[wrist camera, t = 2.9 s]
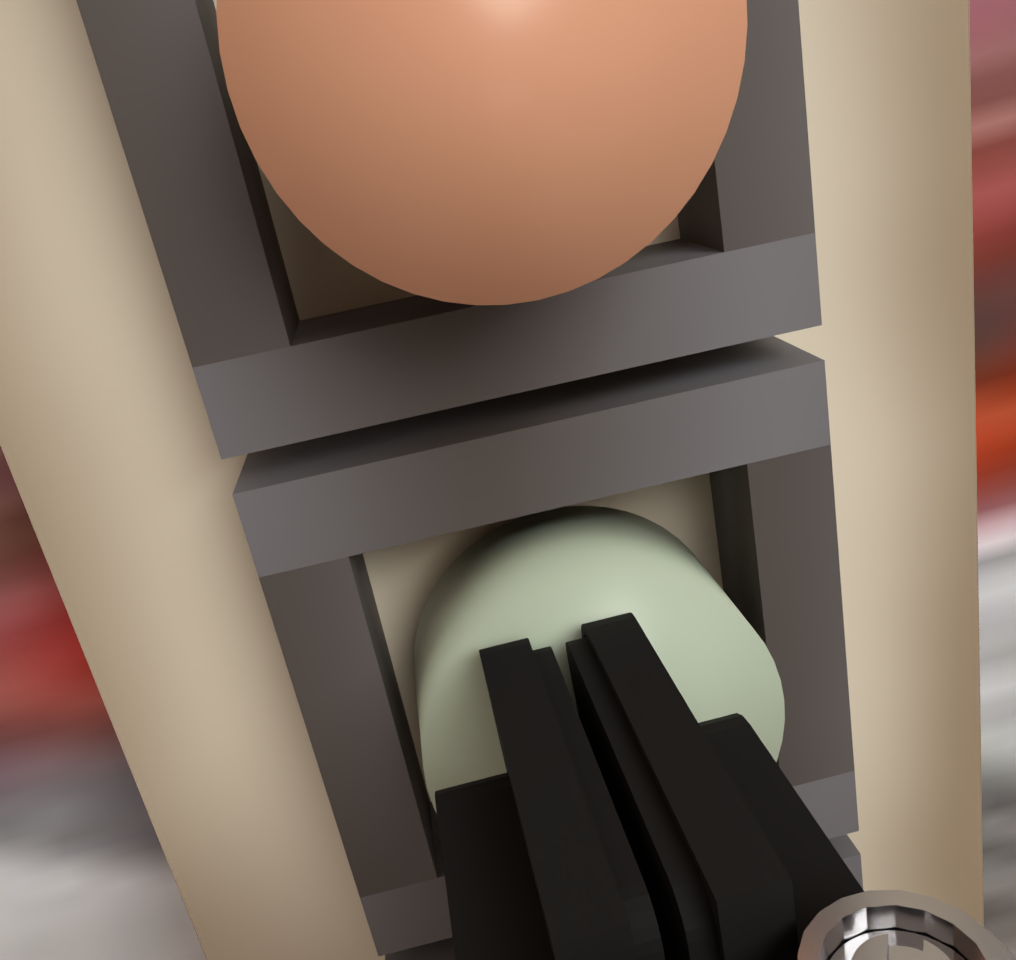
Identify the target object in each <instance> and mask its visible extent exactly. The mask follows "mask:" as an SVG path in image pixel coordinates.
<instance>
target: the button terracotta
mask: <svg viewBox="0 0 1016 960" xmlns="http://www.w3.org/2000/svg"><path fill="white" fill-rule="evenodd" d="M216 15H217V27H218V38H219V50H220V56H221V61H222V66H223V70H224V75H225V80H226V85H227V90H228V93H229V96H230V99H231V102H232V105H233V108H234V111H235V114H236V117H237V120H238V123H239V125H240V128H241V130H242V132H243V134H244V136H245V139H246V141H247V143H248V145H249V147H250V149H251V151H252V153H253V155H254V157H255V159H256V161H257V163H258V165H259V166H260V168H261V169H262V171H263V172H264V174H265V176H266V177H267V179H268V180H269V182H270V183H271V185H272V187H273V188H274V190H275V191H276V193H277V194H278V195H279V196H280V198H281V199H282V200H283V201H284V203H285V204H286V205H287V206H288V207H289V209H290V210H291V211H292V212H293V213H294V215H295V216H296V217H297V218H298V220H299V221H300V222H301V223H302V224H303V225H305V226H306V227H307V228H308V229H309V230H310V231H311V232H312V233H313V234H314V235H315V236H316V237H317V238H318V239H319V240H320V241H321V242H322V243H324V244H325V245H326V246H327V247H329V248H330V249H331V250H333V251H334V252H335V253H337V254H338V255H339V256H341V257H342V258H344V259H345V260H346V261H348V262H349V263H350V264H352V265H353V266H355V267H357V268H359V269H360V270H362V271H364V272H366V273H368V274H369V275H371V276H373V277H375V278H377V279H378V280H380V281H382V282H384V283H387V284H389V285H392V286H395V287H397V288H400V289H402V290H405V291H407V292H410V293H412V294H416V295H420V296H424V297H428V298H432V299H436V300H440V301H443V302H451V303H460V304H469V305H510V304H516V303H523V302H530V301H536V300H541V299H544V298H548V297H551V296H555V295H558V294H562V293H565V292H569V291H571V290H573V289H576V288H578V287H580V286H583V285H585V284H587V283H589V282H592V281H594V280H596V279H598V278H600V277H602V276H603V275H605V274H607V273H608V272H610V271H612V270H614V269H615V268H617V267H619V266H620V265H622V264H624V263H625V262H627V261H628V260H629V259H630V258H632V257H633V256H634V255H635V254H637V253H638V252H639V251H641V250H642V249H643V248H644V247H646V246H647V245H648V244H650V243H651V242H652V241H653V240H654V239H655V238H656V237H657V236H658V235H659V234H660V233H661V232H662V231H663V230H664V229H665V228H666V227H667V226H668V225H669V224H670V223H671V222H672V221H673V220H674V219H675V217H676V216H677V215H678V213H679V212H680V211H681V210H682V208H683V207H684V206H685V204H686V203H687V202H688V201H689V199H690V198H691V197H692V195H693V194H694V193H695V191H696V190H697V188H698V186H699V185H700V183H701V181H702V180H703V178H704V176H705V175H706V173H707V171H708V170H709V168H710V166H711V165H712V163H713V161H714V158H715V156H716V154H717V152H718V150H719V147H720V145H721V143H722V141H723V139H724V136H725V134H726V132H727V129H728V126H729V123H730V120H731V116H732V113H733V110H734V107H735V104H736V101H737V98H738V93H739V88H740V83H741V77H742V72H743V67H744V62H745V50H746V38H747V26H748V25H747V0H217V6H216Z"/></svg>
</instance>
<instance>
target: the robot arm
mask: <svg viewBox="0 0 1016 960" xmlns="http://www.w3.org/2000/svg"><path fill="white" fill-rule="evenodd" d="M581 633H582V638H581V639H577V640H573V641H569V642H566V652H567V658H568V663H569V668H570V673H571V678H572V683H573V689H574V694H575V699H576V704H577V709H578V713H577V710H576V708H575V705H574V703H573V700H572V698H571V695H570V693H569V690H568V688H567V685H566V683H565V680H564V677H563V675H562V672H561V670H560V667H559V665H558V662H557V660H556V657H555V655H554V652H553V650H552V648H551V646H548V647H544V648H540V649H536V650H533V649H532V647H531V644H530V641H529V639H528V638H524V639H520V640H516V641H512V642H508V643H504V644H500V645H496V646H492V647H488V648H484V649H480V650H479V654H480V658H481V662H482V667H483V671H484V676H485V680H486V684H487V688H488V693H489V697H490V701H491V706H492V710H493V714H494V719H495V723H496V727H497V732H498V736H499V740H500V745H501V749H502V753H503V758H504V762H505V766H506V771H507V773H503V774H499V775H495V776H491V777H487V778H484V779H480V780H476V781H472V782H468V783H464V784H460V785H457V786H453V787H449V788H445V789H441V790H437V791H435V803H436V811H437V819H438V827H439V835H440V843H441V851H442V859H443V866H444V874H445V882H446V890H447V898H448V906H449V914H450V922H451V929H452V937H453V945H454V953H455V960H1016V956H1015V955H1014V954H1013V953H1012V952H1011V951H1010V950H1009V949H1008V948H1007V947H1006V946H1004V945H1003V944H1002V943H1001V942H1000V941H999V940H998V939H997V938H996V937H995V936H994V935H993V934H992V933H991V932H990V931H989V930H988V929H986V928H985V927H984V926H982V925H981V924H980V923H978V922H977V921H976V920H974V919H973V918H972V917H970V916H969V915H968V914H966V913H965V912H964V911H962V910H960V909H958V908H956V907H953V906H951V905H949V904H947V903H944V902H942V901H940V900H938V899H935V898H933V897H931V896H926V895H921V894H916V893H911V892H907V891H902V890H871V891H865V892H864V890H863V889H862V887H861V886H860V884H859V883H858V881H857V880H856V879H855V877H854V876H853V874H852V873H851V871H850V870H849V868H848V867H847V865H846V864H845V862H844V861H843V860H842V858H841V857H840V855H839V854H838V852H837V851H836V849H835V848H834V846H833V845H832V843H831V842H830V840H829V839H828V838H827V836H826V835H825V833H824V832H823V830H822V829H821V827H820V826H819V824H818V823H817V821H816V820H815V819H814V817H813V816H812V814H811V813H810V811H809V810H808V808H807V807H806V805H805V804H804V802H803V801H802V800H801V798H800V797H799V795H798V794H797V792H796V791H795V789H794V788H793V786H792V785H791V783H790V782H789V780H788V779H787V778H786V776H785V775H784V773H783V772H782V770H781V769H780V767H779V766H778V764H777V763H776V761H775V760H774V759H773V757H772V756H771V754H770V753H769V751H768V750H767V748H766V747H765V745H764V744H763V742H762V741H761V740H760V738H759V737H758V735H757V734H756V732H755V731H754V729H753V728H752V726H751V725H750V724H749V722H748V721H747V720H746V719H745V718H744V716H743V715H741V714H738V713H735V714H731V715H727V716H723V717H719V718H715V719H711V720H708V721H704V722H700V723H698V722H697V720H696V718H695V717H694V715H693V713H692V712H691V710H690V708H689V707H688V705H687V703H686V702H685V700H684V698H683V697H682V695H681V693H680V692H679V690H678V688H677V687H676V685H675V683H674V682H673V680H672V678H671V676H670V675H669V673H668V671H667V670H666V668H665V666H664V665H663V663H662V661H661V660H660V658H659V656H658V655H657V653H656V651H655V650H654V648H653V646H652V645H651V643H650V641H649V640H648V638H647V636H646V635H645V633H644V631H643V629H642V628H641V626H640V624H639V623H638V621H637V619H636V618H635V616H634V615H633V614H632V613H631V612H629V613H625V614H621V615H617V616H613V617H609V618H605V619H601V620H597V621H593V622H589V623H585V624H582V625H581Z"/></svg>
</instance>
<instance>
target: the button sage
mask: <svg viewBox="0 0 1016 960" xmlns="http://www.w3.org/2000/svg"><path fill="white" fill-rule="evenodd" d="M629 612H631V613H632V614H633V615H634V616H635V618H636V619H637V621H638V623H639V624H640V626H641V628H642V629H643V631H644V633H645V635H646V636H647V638H648V640H649V641H650V643H651V645H652V646H653V648H654V650H655V651H656V653H657V655H658V656H659V658H660V660H661V661H662V663H663V665H664V666H665V668H666V670H667V671H668V673H669V675H670V676H671V678H672V680H673V682H674V683H675V685H676V687H677V688H678V690H679V692H680V693H681V695H682V697H683V698H684V700H685V702H686V703H687V705H688V707H689V708H690V710H691V712H692V713H693V715H694V717H695V718H696V720H697V722H698V723H700V722H704V721H708V720H711V719H715V718H719V717H723V716H727V715H731V714H735V713H738V714H741V715H743V716H744V718H745V719H746V720H747V721H748V722H749V724H750V725H751V726H752V728H753V729H754V731H755V732H756V734H757V735H758V737H759V738H760V740H761V741H762V742H763V744H764V745H765V747H766V748H767V750H768V751H769V753H770V754H771V756H772V757H773V759H774V760H775V761H776V762H777V759H778V755H779V752H780V748H781V744H782V740H783V732H784V723H785V706H784V695H783V690H782V684H781V679H780V677H779V674H778V671H777V668H776V665H775V662H774V660H773V658H772V656H771V654H770V652H769V651H768V649H767V647H766V645H765V643H764V642H763V641H762V639H761V638H760V637H759V635H758V634H757V633H756V631H755V630H754V629H753V627H752V626H751V625H750V624H749V622H748V621H747V620H746V619H745V617H744V616H743V615H742V614H741V612H740V611H739V610H738V609H737V607H736V606H735V605H734V604H733V602H732V601H731V600H730V599H729V597H728V596H727V595H726V594H725V592H724V591H723V590H722V588H721V587H720V586H719V585H718V583H717V582H716V581H715V580H714V578H713V577H712V576H711V575H710V573H709V572H708V571H707V570H706V568H705V567H704V566H703V565H702V563H701V562H700V561H699V560H698V558H697V557H696V556H695V555H694V553H693V552H692V551H691V550H690V549H689V548H688V547H687V546H686V545H685V544H684V543H683V542H682V541H681V540H680V539H679V538H677V537H676V536H675V535H673V534H672V533H670V532H669V531H668V530H666V529H665V528H663V527H662V526H660V525H658V524H656V523H654V522H652V521H650V520H648V519H646V518H644V517H641V516H638V515H636V514H633V513H630V512H627V511H623V510H618V509H613V508H608V507H599V506H565V507H560V508H556V509H551V510H547V511H543V512H538V513H534V514H530V515H526V516H522V517H520V518H518V519H515V520H513V521H511V522H508V523H506V524H504V525H502V526H500V527H498V528H497V529H495V530H493V531H492V532H490V533H488V534H486V535H485V536H483V537H482V538H481V539H479V540H478V541H477V542H475V543H474V544H473V545H471V546H470V547H469V548H468V549H466V550H465V551H464V552H463V553H462V554H461V555H460V556H459V557H458V558H457V559H456V560H455V561H454V562H453V563H452V564H451V566H450V567H449V568H448V569H447V571H446V572H445V573H444V574H443V576H442V577H441V578H440V579H439V581H438V583H437V584H436V586H435V588H434V589H433V591H432V593H431V594H430V596H429V598H428V600H427V603H426V605H425V607H424V610H423V612H422V614H421V617H420V621H419V625H418V628H417V632H416V638H415V646H414V675H415V685H416V696H417V707H418V717H419V728H420V739H421V749H422V760H423V770H424V775H425V781H426V786H427V791H428V793H429V796H430V799H431V802H432V805H433V807H434V810H435V811H436V803H435V791H437V790H441V789H445V788H449V787H453V786H457V785H460V784H464V783H468V782H472V781H476V780H480V779H484V778H487V777H491V776H495V775H499V774H503V773H507V771H506V766H505V762H504V758H503V753H502V749H501V745H500V740H499V736H498V732H497V727H496V723H495V719H494V714H493V710H492V706H491V701H490V697H489V693H488V688H487V684H486V680H485V676H484V671H483V667H482V662H481V658H480V654H479V650H480V649H484V648H488V647H492V646H496V645H500V644H504V643H508V642H512V641H516V640H520V639H524V638H528V639H529V641H530V644H531V647H532V649H533V650H536V649H540V648H544V647H548V646H551V648H552V650H553V652H554V655H555V657H556V660H557V662H558V665H559V667H560V670H561V672H562V675H563V677H564V680H565V683H566V685H567V688H568V690H569V693H570V695H571V698H572V700H573V703H574V705H575V708H576V710H577V713H578V709H577V704H576V699H575V694H574V689H573V683H572V678H571V673H570V668H569V663H568V658H567V652H566V642H569V641H573V640H577V639H581V638H582V633H581V625H582V624H585V623H589V622H593V621H597V620H601V619H605V618H609V617H613V616H617V615H621V614H625V613H629ZM436 813H437V811H436Z"/></svg>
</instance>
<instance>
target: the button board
mask: <svg viewBox="0 0 1016 960" xmlns="http://www.w3.org/2000/svg"><path fill="white" fill-rule="evenodd" d="M216 6H217V0H0V446H1V448H2V451H3V453H4V456H5V458H6V461H7V463H8V466H9V468H10V471H11V473H12V476H13V478H14V481H15V483H16V486H17V488H18V491H19V493H20V496H21V498H22V500H23V503H24V505H25V508H26V510H27V513H28V515H29V518H30V520H31V523H32V525H33V528H34V530H35V533H36V535H37V538H38V540H39V543H40V545H41V548H42V550H43V553H44V555H45V558H46V560H47V563H48V565H49V568H50V570H51V573H52V575H53V578H54V580H55V583H56V585H57V588H58V590H59V593H60V595H61V598H62V600H63V603H64V605H65V608H66V610H67V613H68V615H69V617H70V620H71V622H72V625H73V627H74V630H75V632H76V635H77V637H78V640H79V642H80V645H81V647H82V650H83V652H84V655H85V657H86V660H87V662H88V665H89V667H90V670H91V672H92V675H93V677H94V680H95V682H96V685H97V687H98V690H99V692H100V695H101V697H102V700H103V702H104V705H105V707H106V710H107V712H108V715H109V717H110V720H111V722H112V725H113V727H114V730H115V732H116V734H117V737H118V739H119V742H120V744H121V747H122V749H123V752H124V754H125V757H126V759H127V762H128V764H129V767H130V769H131V772H132V774H133V777H134V779H135V782H136V784H137V787H138V789H139V792H140V794H141V797H142V799H143V802H144V804H145V807H146V809H147V812H148V814H149V817H150V819H151V822H152V824H153V827H154V829H155V832H156V834H157V837H158V839H159V842H160V844H161V847H162V849H163V851H164V854H165V856H166V859H167V861H168V864H169V866H170V869H171V871H172V874H173V876H174V879H175V881H176V884H177V886H178V889H179V891H180V894H181V896H182V899H183V901H184V904H185V906H186V909H187V911H188V914H189V916H190V919H191V921H192V924H193V926H194V929H195V931H196V934H197V936H198V939H199V941H200V944H201V946H202V949H203V951H204V954H205V956H206V959H207V960H455V953H454V945H453V937H452V929H451V922H450V914H449V906H448V898H447V890H446V882H445V874H444V866H443V859H442V851H441V843H440V835H439V827H438V819H437V813H436V811H435V810H434V807H433V805H432V802H431V799H430V796H429V793H428V791H427V786H426V781H425V775H424V770H423V760H422V749H421V739H420V728H419V717H418V707H417V696H416V685H415V675H414V646H415V638H416V632H417V628H418V625H419V621H420V617H421V614H422V612H423V610H424V607H425V605H426V603H427V600H428V598H429V596H430V594H431V593H432V591H433V589H434V588H435V586H436V584H437V583H438V581H439V579H440V578H441V577H442V576H443V574H444V573H445V572H446V571H447V569H448V568H449V567H450V566H451V564H452V563H453V562H454V561H455V560H456V559H457V558H458V557H459V556H460V555H461V554H462V553H463V552H464V551H465V550H466V549H468V548H469V547H470V546H471V545H473V544H474V543H475V542H477V541H478V540H479V539H481V538H482V537H483V536H485V535H486V534H488V533H490V532H492V531H493V530H495V529H497V528H498V527H500V526H502V525H504V524H506V523H508V522H511V521H513V520H515V519H518V518H520V517H522V516H526V515H530V514H534V513H538V512H543V511H547V510H551V509H556V508H560V507H565V506H599V507H608V508H613V509H618V510H623V511H627V512H630V513H633V514H636V515H638V516H641V517H644V518H646V519H648V520H650V521H652V522H654V523H656V524H658V525H660V526H662V527H663V528H665V529H666V530H668V531H669V532H670V533H672V534H673V535H675V536H676V537H677V538H679V539H680V540H681V541H682V542H683V543H684V544H685V545H686V546H687V547H688V548H689V549H690V550H691V551H692V552H693V553H694V555H695V556H696V557H697V558H698V560H699V561H700V562H701V563H702V565H703V566H704V567H705V568H706V570H707V571H708V572H709V573H710V575H711V576H712V577H713V578H714V580H715V581H716V582H717V583H718V585H719V586H720V587H721V588H722V590H723V591H724V592H725V594H726V595H727V596H728V597H729V599H730V600H731V601H732V602H733V604H734V605H735V606H736V607H737V609H738V610H739V611H740V612H741V614H742V615H743V616H744V617H745V619H746V620H747V621H748V622H749V624H750V625H751V626H752V627H753V629H754V630H755V631H756V633H757V634H758V635H759V637H760V638H761V639H762V641H763V642H764V643H765V645H766V647H767V649H768V651H769V652H770V654H771V656H772V658H773V660H774V662H775V665H776V668H777V671H778V674H779V677H780V679H781V684H782V690H783V695H784V706H785V723H784V732H783V740H782V744H781V748H780V752H779V755H778V759H777V762H776V763H777V764H778V766H779V767H780V769H781V770H782V772H783V773H784V775H785V776H786V778H787V779H788V780H789V782H790V783H791V785H792V786H793V788H794V789H795V791H796V792H797V794H798V795H799V797H800V798H801V800H802V801H803V802H804V804H805V805H806V807H807V808H808V810H809V811H810V813H811V814H812V816H813V817H814V819H815V820H816V821H817V823H818V824H819V826H820V827H821V829H822V830H823V832H824V833H825V835H826V836H827V838H828V839H829V840H830V842H831V843H832V845H833V846H834V848H835V849H836V851H837V852H838V854H839V855H840V857H841V858H842V860H843V861H844V862H845V864H846V865H847V867H848V868H849V870H850V871H851V873H852V874H853V876H854V877H855V879H856V880H857V881H858V883H859V884H860V886H861V887H862V889H863V890H864V892H865V891H871V890H902V891H907V892H911V893H916V894H921V895H926V896H931V897H933V898H935V899H938V900H940V901H942V902H944V903H947V904H949V905H951V906H953V907H956V908H958V909H960V910H962V911H964V912H965V913H966V914H968V915H969V916H970V917H972V918H973V919H974V920H976V921H977V922H978V923H980V924H981V925H982V926H984V918H983V854H982V789H981V725H980V661H979V597H978V533H977V469H976V405H975V340H974V276H973V212H972V148H971V84H970V20H969V0H747V25H748V26H747V38H746V50H745V62H744V67H743V72H742V77H741V83H740V88H739V93H738V98H737V101H736V104H735V107H734V110H733V113H732V116H731V120H730V123H729V126H728V129H727V132H726V134H725V136H724V139H723V141H722V143H721V145H720V147H719V150H718V152H717V154H716V156H715V158H714V161H713V163H712V165H711V166H710V168H709V170H708V171H707V173H706V175H705V176H704V178H703V180H702V181H701V183H700V185H699V186H698V188H697V190H696V191H695V193H694V194H693V195H692V197H691V198H690V199H689V201H688V202H687V203H686V204H685V206H684V207H683V208H682V210H681V211H680V212H679V213H678V215H677V216H676V217H675V219H674V220H673V221H672V222H671V223H670V224H669V225H668V226H667V227H666V228H665V229H664V230H663V231H662V232H661V233H660V234H659V235H658V236H657V237H656V238H655V239H654V240H653V241H652V242H651V243H650V244H648V245H647V246H646V247H644V248H643V249H642V250H641V251H639V252H638V253H637V254H635V255H634V256H633V257H632V258H630V259H629V260H628V261H627V262H625V263H624V264H622V265H620V266H619V267H617V268H615V269H614V270H612V271H610V272H608V273H607V274H605V275H603V276H602V277H600V278H598V279H596V280H594V281H592V282H589V283H587V284H585V285H583V286H580V287H578V288H576V289H573V290H571V291H569V292H565V293H562V294H558V295H555V296H551V297H548V298H544V299H541V300H536V301H530V302H523V303H516V304H510V305H469V304H460V303H451V302H443V301H440V300H436V299H432V298H428V297H424V296H420V295H416V294H412V293H410V292H407V291H405V290H402V289H400V288H397V287H395V286H392V285H389V284H387V283H384V282H382V281H380V280H378V279H377V278H375V277H373V276H371V275H369V274H368V273H366V272H364V271H362V270H360V269H359V268H357V267H355V266H353V265H352V264H350V263H349V262H348V261H346V260H345V259H344V258H342V257H341V256H339V255H338V254H337V253H335V252H334V251H333V250H331V249H330V248H329V247H327V246H326V245H325V244H324V243H322V242H321V241H320V240H319V239H318V238H317V237H316V236H315V235H314V234H313V233H312V232H311V231H310V230H309V229H308V228H307V227H306V226H305V225H303V224H302V223H301V222H300V221H299V220H298V218H297V217H296V216H295V215H294V213H293V212H292V211H291V210H290V209H289V207H288V206H287V205H286V204H285V203H284V201H283V200H282V199H281V198H280V196H279V195H278V194H277V193H276V191H275V190H274V188H273V187H272V185H271V183H270V182H269V180H268V179H267V177H266V176H265V174H264V172H263V171H262V169H261V168H260V166H259V165H258V163H257V161H256V159H255V157H254V155H253V153H252V151H251V149H250V147H249V145H248V143H247V141H246V139H245V136H244V134H243V132H242V130H241V128H240V125H239V123H238V120H237V117H236V114H235V111H234V108H233V105H232V102H231V99H230V96H229V93H228V90H227V85H226V80H225V75H224V70H223V66H222V61H221V56H220V50H219V38H218V27H217V15H216Z"/></svg>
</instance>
